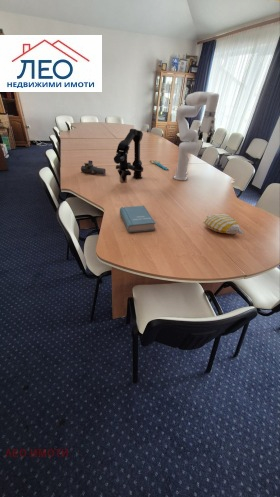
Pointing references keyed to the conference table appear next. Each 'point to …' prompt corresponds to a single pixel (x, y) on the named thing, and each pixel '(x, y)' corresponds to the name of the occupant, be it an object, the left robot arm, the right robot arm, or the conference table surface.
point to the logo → (159, 164)
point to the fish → (223, 224)
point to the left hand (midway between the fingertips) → (123, 180)
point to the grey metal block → (122, 180)
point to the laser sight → (92, 169)
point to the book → (137, 219)
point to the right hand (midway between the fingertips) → (203, 141)
